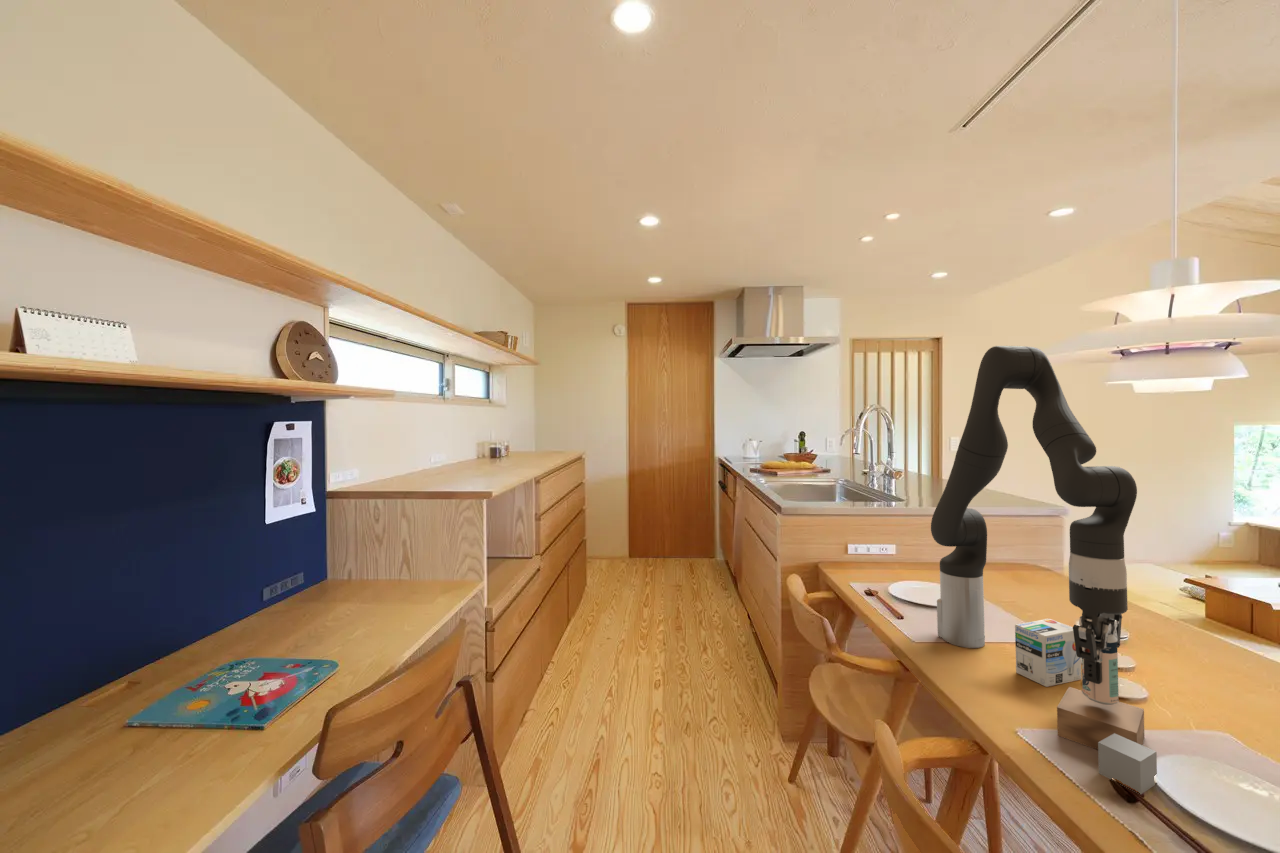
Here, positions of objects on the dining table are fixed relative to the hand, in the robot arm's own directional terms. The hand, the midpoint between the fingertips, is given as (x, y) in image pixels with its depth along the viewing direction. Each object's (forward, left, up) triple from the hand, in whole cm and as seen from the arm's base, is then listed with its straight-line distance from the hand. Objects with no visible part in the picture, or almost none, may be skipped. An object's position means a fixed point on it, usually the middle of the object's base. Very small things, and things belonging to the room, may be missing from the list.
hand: (1099, 676), depth 87 cm
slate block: (+6, -10, -11) cm, 16 cm away
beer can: (0, 0, -4) cm, 4 cm away
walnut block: (0, 0, -10) cm, 10 cm away
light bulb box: (-14, +17, -11) cm, 24 cm away
